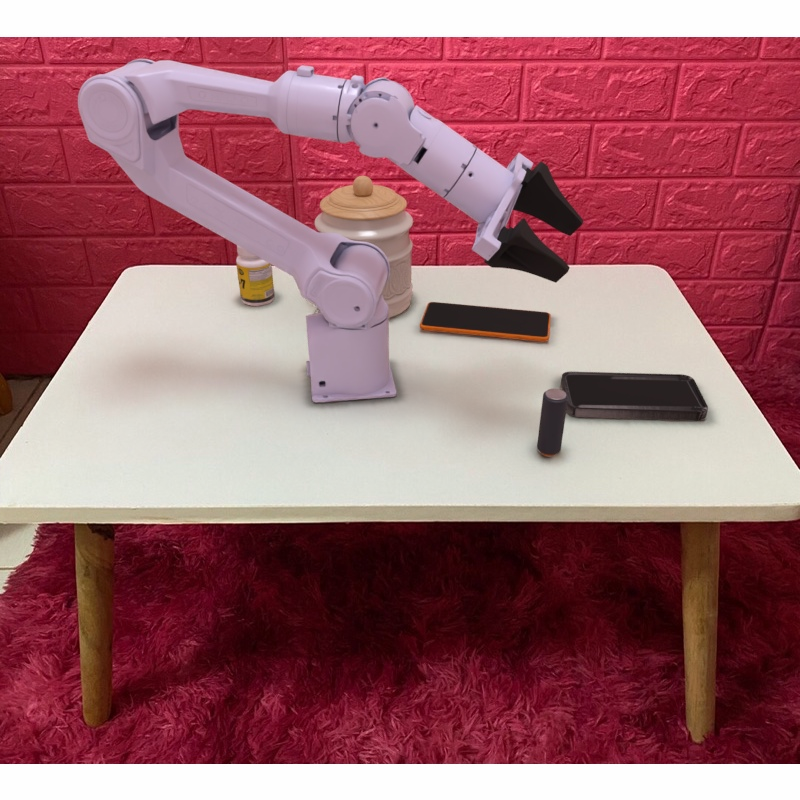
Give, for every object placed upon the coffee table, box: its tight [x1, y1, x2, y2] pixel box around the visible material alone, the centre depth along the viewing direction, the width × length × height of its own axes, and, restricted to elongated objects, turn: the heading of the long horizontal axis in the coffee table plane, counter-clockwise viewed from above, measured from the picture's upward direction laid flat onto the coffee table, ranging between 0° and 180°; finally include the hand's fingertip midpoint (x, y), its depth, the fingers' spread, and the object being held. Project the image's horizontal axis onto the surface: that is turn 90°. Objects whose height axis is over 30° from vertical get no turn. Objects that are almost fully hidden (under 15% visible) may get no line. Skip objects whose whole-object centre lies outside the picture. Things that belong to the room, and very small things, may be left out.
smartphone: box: [419, 301, 552, 343], centre depth 102 cm, size 8×17×1 cm, turn 79°
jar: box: [314, 175, 414, 319], centre depth 103 cm, size 13×13×18 cm
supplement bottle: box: [235, 245, 276, 307], centre depth 106 cm, size 5×5×8 cm
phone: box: [560, 371, 709, 421], centre depth 86 cm, size 8×1×15 cm
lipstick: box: [536, 387, 568, 458], centre depth 77 cm, size 2×2×7 cm
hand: (570, 251), depth 77 cm, fingers open, 7 cm apart
